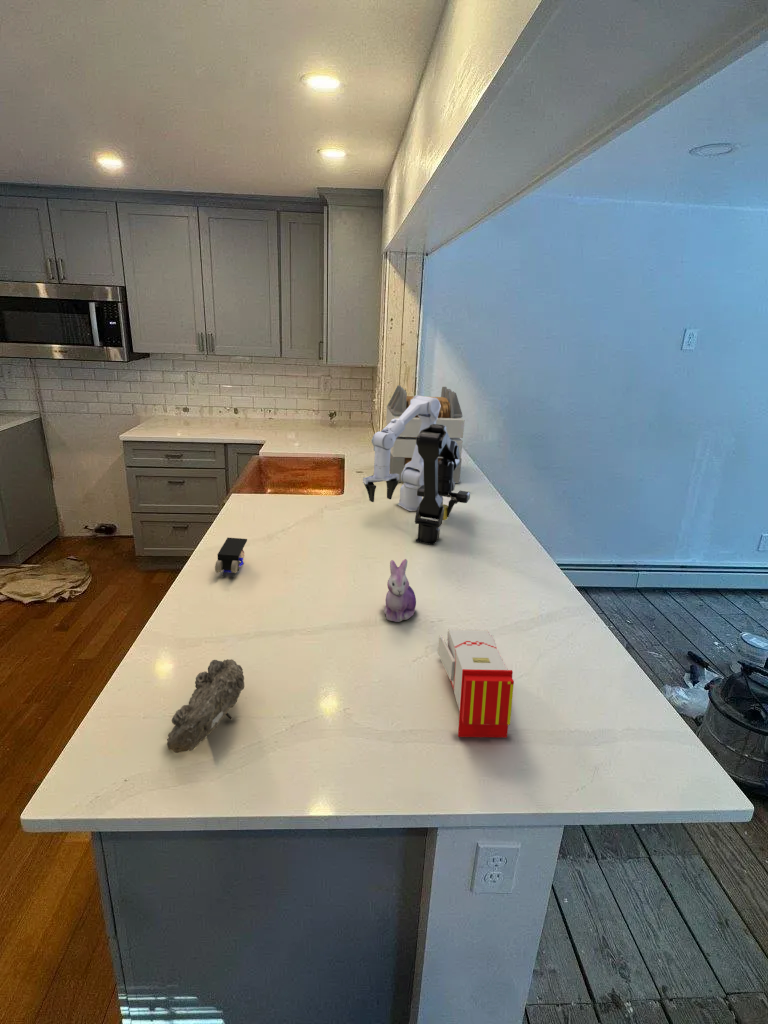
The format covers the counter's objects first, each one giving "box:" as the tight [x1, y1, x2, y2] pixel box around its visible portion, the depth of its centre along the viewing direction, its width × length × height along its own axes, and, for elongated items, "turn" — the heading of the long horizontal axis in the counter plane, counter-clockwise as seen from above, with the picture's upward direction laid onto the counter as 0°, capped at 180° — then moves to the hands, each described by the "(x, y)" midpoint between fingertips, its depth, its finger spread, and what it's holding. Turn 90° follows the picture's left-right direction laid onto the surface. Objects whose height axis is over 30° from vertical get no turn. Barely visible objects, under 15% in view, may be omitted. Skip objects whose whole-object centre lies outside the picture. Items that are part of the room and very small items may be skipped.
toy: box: [437, 628, 515, 738], centre depth 117 cm, size 12×13×30 cm
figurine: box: [384, 558, 417, 623], centre depth 145 cm, size 9×10×15 cm
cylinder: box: [443, 503, 448, 521], centre depth 210 cm, size 4×4×5 cm
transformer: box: [385, 384, 465, 484], centre depth 268 cm, size 34×33×41 cm
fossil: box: [166, 658, 245, 754], centre depth 106 cm, size 22×10×15 cm
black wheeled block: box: [214, 537, 248, 578], centre depth 166 cm, size 7×8×15 cm
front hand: (441, 515), depth 211 cm, fingers closed on cylinder, 4 cm apart
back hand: (380, 499), depth 211 cm, fingers open, 7 cm apart
